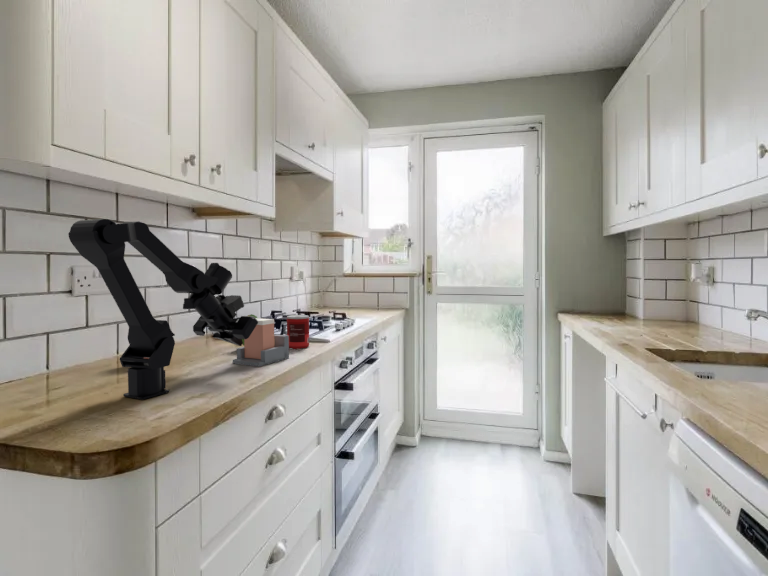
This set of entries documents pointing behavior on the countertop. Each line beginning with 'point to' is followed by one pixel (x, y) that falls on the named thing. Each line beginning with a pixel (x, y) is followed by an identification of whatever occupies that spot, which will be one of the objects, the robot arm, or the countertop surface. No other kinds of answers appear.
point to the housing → (266, 353)
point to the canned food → (298, 331)
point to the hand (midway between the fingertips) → (241, 344)
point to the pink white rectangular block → (260, 338)
